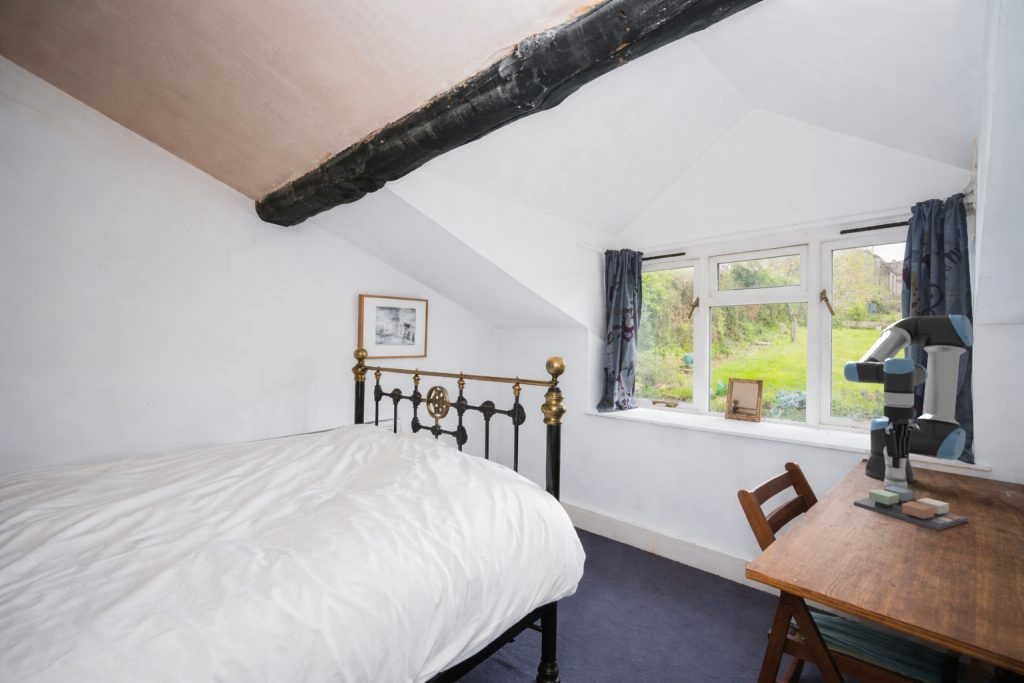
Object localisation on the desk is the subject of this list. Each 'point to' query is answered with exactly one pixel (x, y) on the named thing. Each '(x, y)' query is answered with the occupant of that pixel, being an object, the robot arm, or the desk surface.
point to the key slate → (900, 492)
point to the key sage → (884, 496)
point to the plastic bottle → (888, 474)
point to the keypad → (896, 511)
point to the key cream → (935, 505)
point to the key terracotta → (918, 510)
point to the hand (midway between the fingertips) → (898, 477)
